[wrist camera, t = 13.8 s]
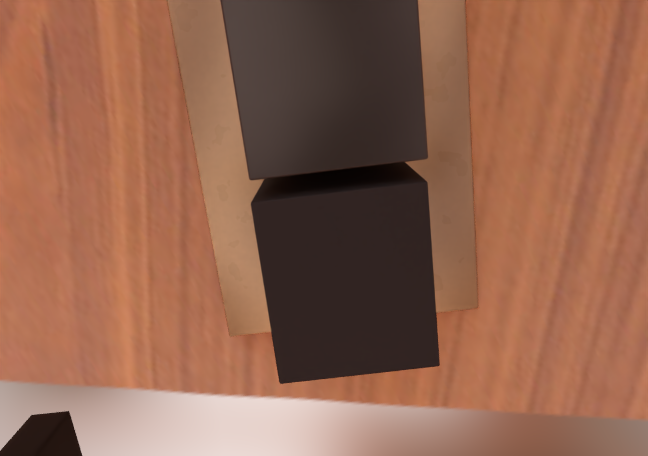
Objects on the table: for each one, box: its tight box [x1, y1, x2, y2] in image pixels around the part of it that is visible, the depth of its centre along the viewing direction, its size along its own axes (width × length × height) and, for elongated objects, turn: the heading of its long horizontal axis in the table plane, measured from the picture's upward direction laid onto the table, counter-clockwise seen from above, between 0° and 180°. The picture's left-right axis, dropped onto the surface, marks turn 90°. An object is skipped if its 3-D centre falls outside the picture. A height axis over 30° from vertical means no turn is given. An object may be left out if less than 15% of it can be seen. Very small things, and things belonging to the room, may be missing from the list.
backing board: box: [167, 0, 478, 337], centre depth 20 cm, size 12×16×7 cm
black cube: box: [251, 162, 440, 384], centre depth 21 cm, size 6×7×6 cm
